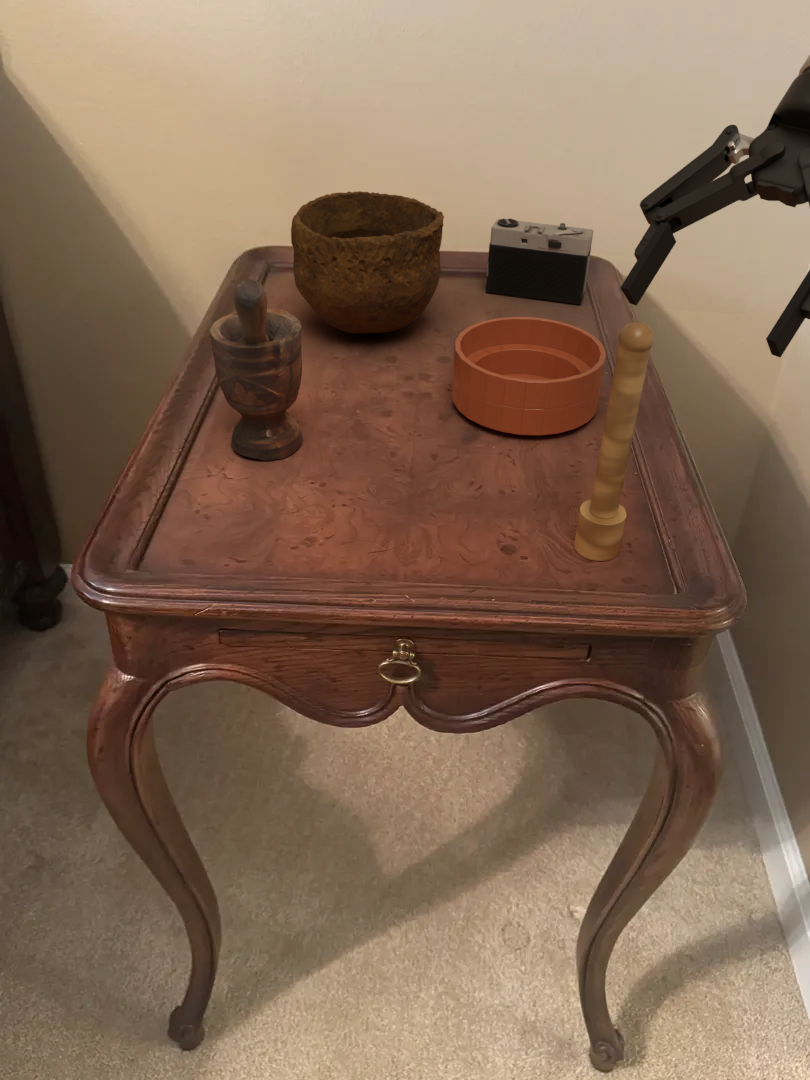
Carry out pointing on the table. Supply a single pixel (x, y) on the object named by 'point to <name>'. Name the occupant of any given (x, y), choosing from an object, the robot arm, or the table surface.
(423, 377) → the table surface
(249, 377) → the mortar and pestle
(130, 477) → the table surface
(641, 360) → the muddler
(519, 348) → the mixing bowl
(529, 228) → the camera
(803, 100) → the robot arm
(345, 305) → the bowl
